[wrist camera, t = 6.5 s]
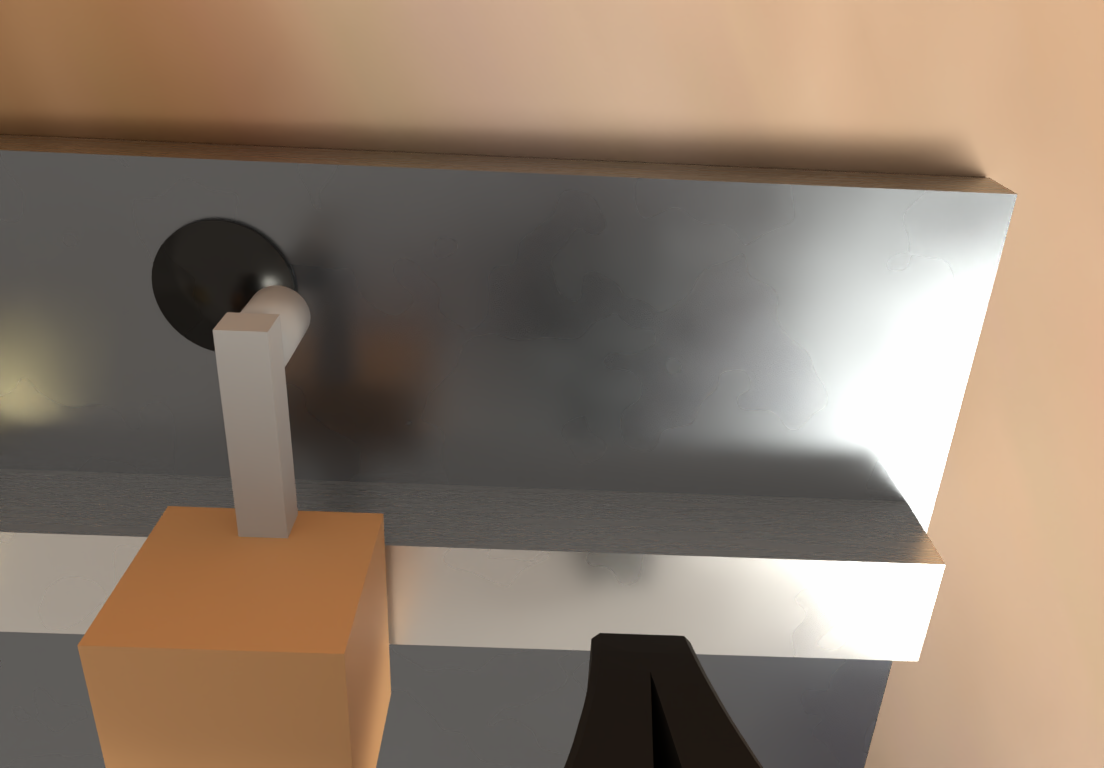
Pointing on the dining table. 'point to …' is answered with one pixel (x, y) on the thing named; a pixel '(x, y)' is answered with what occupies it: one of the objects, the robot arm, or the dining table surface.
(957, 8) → the dining table surface
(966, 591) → the dining table surface
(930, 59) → the dining table surface
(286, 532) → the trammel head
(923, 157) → the dining table surface
